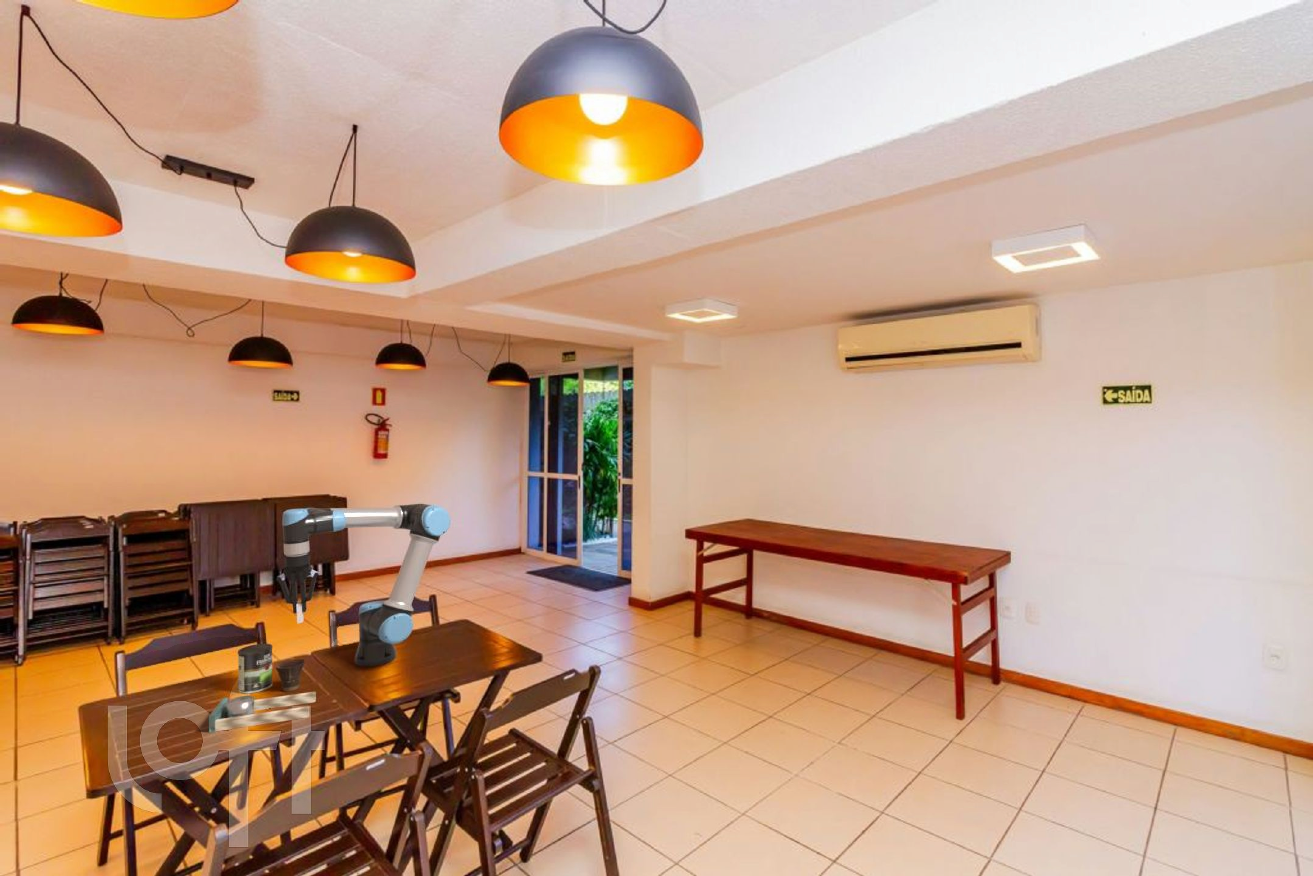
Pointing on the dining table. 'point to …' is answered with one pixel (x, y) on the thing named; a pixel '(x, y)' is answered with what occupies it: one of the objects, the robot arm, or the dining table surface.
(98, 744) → the dining table surface
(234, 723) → the channel
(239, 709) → the keeper
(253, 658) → the coffee can
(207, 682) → the dining table surface
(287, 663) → the cup
